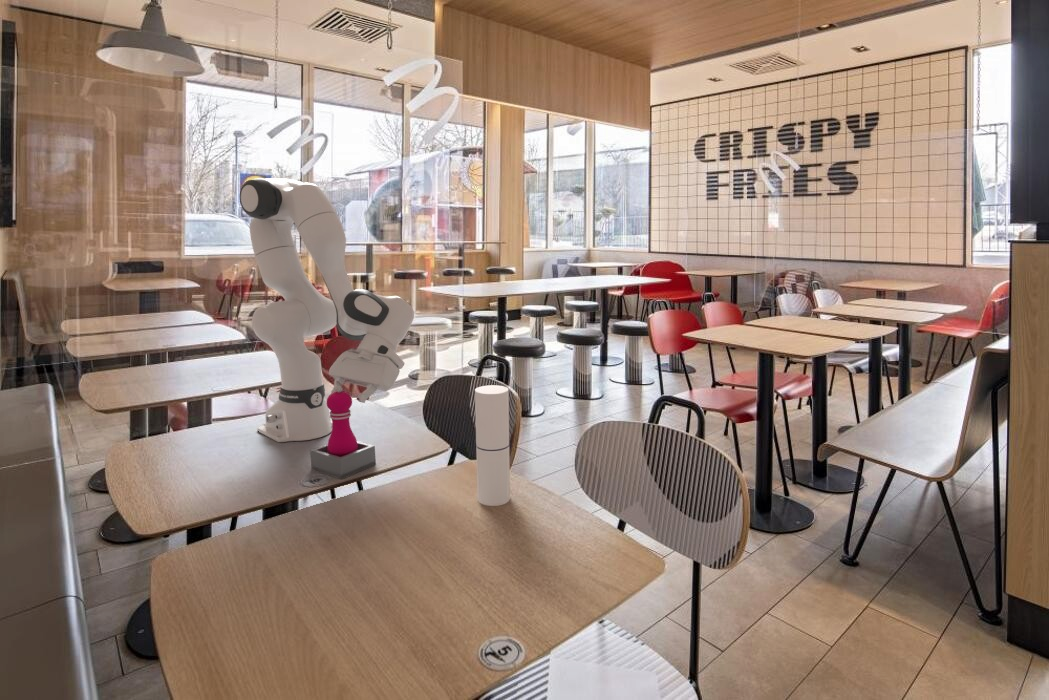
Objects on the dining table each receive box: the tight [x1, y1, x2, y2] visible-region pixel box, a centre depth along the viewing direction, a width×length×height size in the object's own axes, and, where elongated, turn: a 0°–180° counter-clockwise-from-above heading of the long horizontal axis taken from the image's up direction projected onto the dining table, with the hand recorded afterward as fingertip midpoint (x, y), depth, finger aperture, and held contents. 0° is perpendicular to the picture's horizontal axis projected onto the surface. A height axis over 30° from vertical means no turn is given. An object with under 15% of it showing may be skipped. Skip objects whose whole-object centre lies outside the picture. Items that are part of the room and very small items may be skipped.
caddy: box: [309, 440, 377, 480], centre depth 159 cm, size 11×11×5 cm
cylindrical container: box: [474, 384, 511, 507], centre depth 138 cm, size 7×7×25 cm
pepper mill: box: [326, 385, 358, 457], centre depth 157 cm, size 7×7×20 cm
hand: (346, 398), depth 158 cm, fingers open, 8 cm apart
